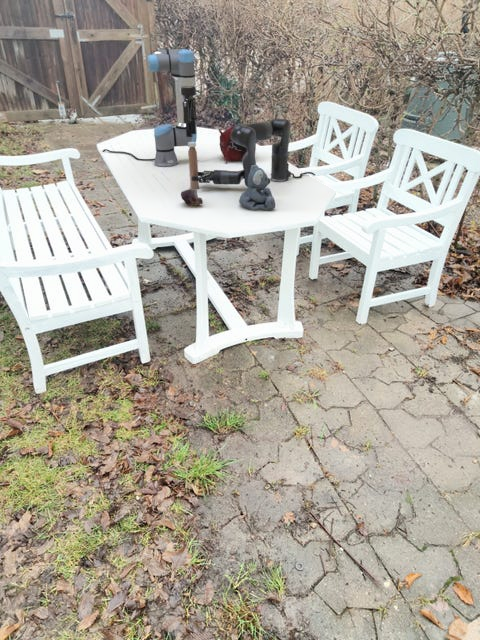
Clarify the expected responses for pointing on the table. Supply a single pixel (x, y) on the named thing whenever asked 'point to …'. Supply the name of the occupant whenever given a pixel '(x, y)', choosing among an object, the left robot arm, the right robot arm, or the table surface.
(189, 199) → the rock
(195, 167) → the bottle
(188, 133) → the left robot arm
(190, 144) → the cap
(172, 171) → the table surface
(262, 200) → the koala plush
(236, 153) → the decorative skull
